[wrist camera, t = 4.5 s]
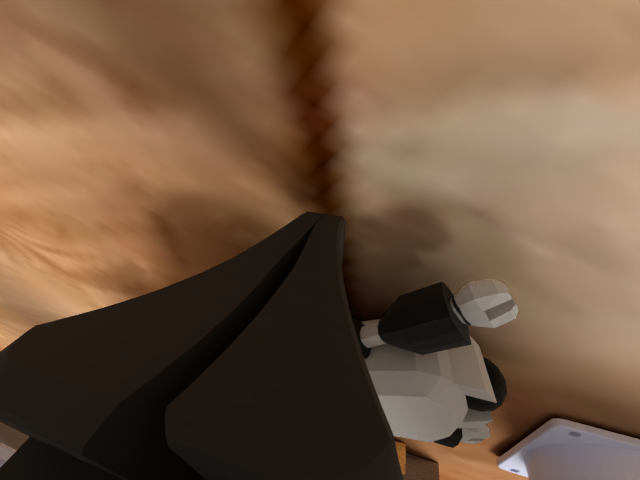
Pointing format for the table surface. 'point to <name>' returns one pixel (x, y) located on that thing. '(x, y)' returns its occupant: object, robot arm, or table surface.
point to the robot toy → (437, 361)
